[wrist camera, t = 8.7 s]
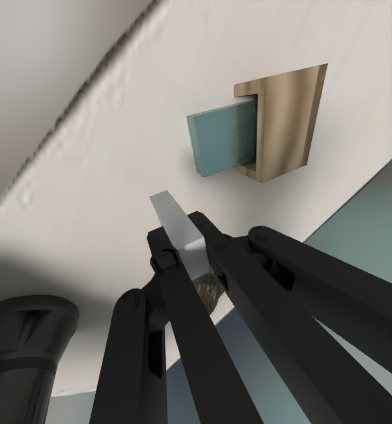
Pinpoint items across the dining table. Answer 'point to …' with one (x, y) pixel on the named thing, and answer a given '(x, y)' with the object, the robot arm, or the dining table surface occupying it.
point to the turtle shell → (208, 291)
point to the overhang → (283, 120)
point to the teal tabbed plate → (223, 137)
